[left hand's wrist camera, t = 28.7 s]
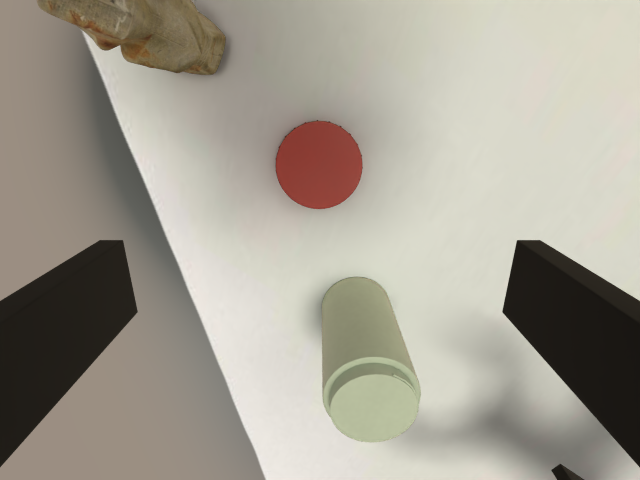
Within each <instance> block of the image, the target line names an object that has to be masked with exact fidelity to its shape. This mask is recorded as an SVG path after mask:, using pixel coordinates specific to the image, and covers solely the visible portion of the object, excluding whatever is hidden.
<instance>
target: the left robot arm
mask: <svg viewBox="0 0 640 480" xmlns="http://www.w3.org/2000/svg"><path fill="white" fill-rule="evenodd" d="M502 312H503V313H504V314H505V316H506V317H507V318H508V319H509V320H510V321H511V322H512V323H513V325H514V326H515V327H516V328H517V329H518V330H519V331H520V333H521V334H522V335H523V336H524V337H525V338H526V339H527V340H528V342H529V343H530V344H531V345H532V346H533V347H534V348H535V349H536V351H537V352H538V353H539V354H540V355H541V356H542V357H543V358H544V360H545V361H546V362H547V363H548V364H549V365H550V366H551V368H552V369H553V370H554V371H555V372H556V373H557V374H558V375H559V377H560V378H561V379H562V380H563V381H564V382H565V383H566V384H567V386H568V387H569V388H570V389H571V390H572V391H573V392H574V394H575V395H576V396H577V397H578V398H579V399H580V400H581V401H582V403H583V404H584V405H585V406H586V407H587V408H588V409H589V410H590V412H591V413H592V414H593V415H594V416H595V417H596V418H597V419H598V421H599V422H600V423H601V424H602V425H603V426H604V427H605V429H606V430H607V431H608V432H609V433H610V434H611V435H612V436H613V438H614V439H615V440H616V441H617V442H618V443H619V444H620V445H621V447H622V448H623V449H624V450H625V451H626V452H627V453H628V454H629V456H630V457H631V458H632V459H633V460H634V461H635V462H636V464H637V465H638V466H639V467H640V301H639V300H637V299H636V298H634V297H632V296H631V295H629V294H627V293H626V292H624V291H622V290H621V289H619V288H618V287H616V286H614V285H613V284H611V283H609V282H608V281H606V280H604V279H603V278H601V277H599V276H598V275H596V274H595V273H593V272H591V271H590V270H588V269H586V268H585V267H583V266H581V265H580V264H578V263H577V262H575V261H573V260H572V259H570V258H568V257H567V256H565V255H563V254H562V253H560V252H558V251H557V250H555V249H554V248H552V247H550V246H549V245H547V244H545V243H544V242H542V241H540V240H517V243H516V248H515V253H514V258H513V263H512V268H511V272H510V277H509V282H508V287H507V292H506V297H505V302H504V307H503V311H502ZM136 313H137V307H136V302H135V297H134V292H133V287H132V282H131V277H130V273H129V268H128V263H127V258H126V253H125V248H124V243H123V240H100V241H98V242H96V243H95V244H93V245H91V246H90V247H88V248H86V249H85V250H83V251H82V252H80V253H78V254H77V255H75V256H73V257H72V258H70V259H68V260H67V261H65V262H63V263H62V264H60V265H59V266H57V267H55V268H54V269H52V270H50V271H49V272H47V273H45V274H44V275H42V276H41V277H39V278H37V279H36V280H34V281H32V282H31V283H29V284H27V285H26V286H24V287H22V288H21V289H19V290H18V291H16V292H14V293H13V294H11V295H9V296H8V297H6V298H4V299H3V300H1V301H0V467H1V466H2V465H3V463H4V462H5V461H6V460H7V459H8V458H9V457H10V456H11V454H12V453H13V452H14V451H15V450H16V449H17V448H18V447H19V445H20V444H21V443H22V442H23V441H24V440H25V439H26V438H27V436H28V435H29V434H30V433H31V432H32V431H33V430H34V428H35V427H36V426H37V425H38V424H39V423H40V422H41V421H42V419H43V418H44V417H45V416H46V415H47V414H48V413H49V412H50V410H51V409H52V408H53V407H54V406H55V405H56V404H57V403H58V401H59V400H60V399H61V398H62V397H63V396H64V395H65V394H66V392H67V391H68V390H69V389H70V388H71V387H72V386H73V384H74V383H75V382H76V381H77V380H78V379H79V378H80V377H81V375H82V374H83V373H84V372H85V371H86V370H87V369H88V368H89V366H90V365H91V364H92V363H93V362H94V361H95V360H96V358H97V357H98V356H99V355H100V354H101V353H102V352H103V351H104V349H105V348H106V347H107V346H108V345H109V344H110V343H111V342H112V340H113V339H114V338H115V337H116V336H117V335H118V334H119V333H120V331H121V330H122V329H123V328H124V327H125V326H126V325H127V323H128V322H129V321H130V320H131V319H132V318H133V317H134V316H135V314H136Z"/></svg>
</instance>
